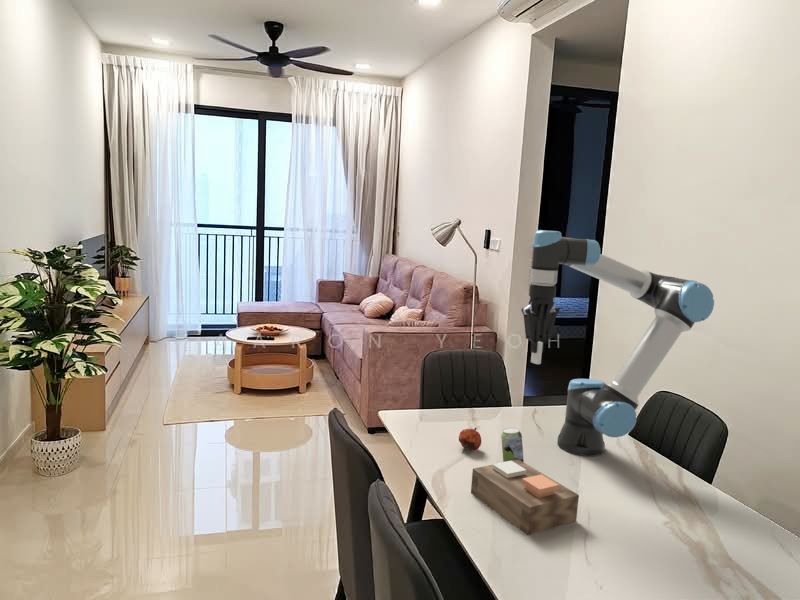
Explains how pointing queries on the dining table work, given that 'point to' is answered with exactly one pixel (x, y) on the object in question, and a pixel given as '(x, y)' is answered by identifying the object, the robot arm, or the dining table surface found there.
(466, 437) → the red round fruit
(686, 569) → the dining table surface
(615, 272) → the robot arm
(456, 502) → the dining table surface
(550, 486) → the terracotta key
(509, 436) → the beverage can
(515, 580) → the dining table surface
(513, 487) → the brown boxy piece
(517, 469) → the white block
